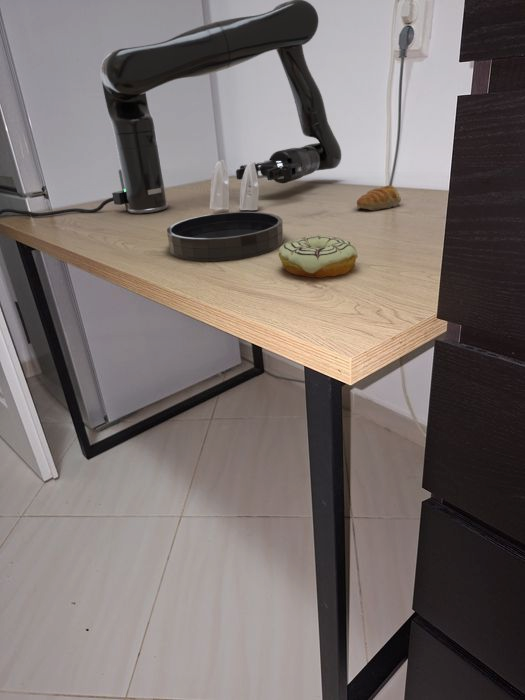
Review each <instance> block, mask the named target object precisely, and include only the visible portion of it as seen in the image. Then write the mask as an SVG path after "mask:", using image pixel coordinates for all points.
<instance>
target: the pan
mask: <svg viewBox="0 0 525 700" xmlns="http://www.w3.org/2000/svg"><path fill="white" fill-rule="evenodd" d="M283 223H284V222H283V218H282V217H281V216H279V215H276V214H274V213H268V212H264V211H263V212H261V211H230V212H229V211H228V212H226V213H218V214H214V213H212V214H210V213H209V214H205V215H198V216H194V217H189V218H186V219H183V220H181V221H178V222H176V223H173V224H171V225H170V226H169V227H168V228H167V229H166V233H167V234H166V235H167V240H168V246H169V252H170V254H171V255H172V256H173V257H175V258H178V259H181V260H186V261H194V262H227V261H234V260H235V261H236V260H242V259H248V258H253V257H256V256H261V255H263V254H267V253H270V252H272V251H274V250H276V249H278V248H280V247H281V246H282V245H283V244H284V225H283Z"/></svg>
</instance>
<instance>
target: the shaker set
mask: <svg viewBox="0 0 525 700" xmlns="http://www.w3.org/2000/svg"><path fill="white" fill-rule="evenodd" d="M254 163H255V162H250V163H247V164H246V165H247V166H246V169H245V171H244V175H243V178H242V179H241V182H240V186H239V187H240V188H239V207H238V210H239V211H257V210H259V195H260V194H259V193H260V191H259V190H260V183H259V178H257V173H256V169H255V165H254ZM209 195H210V197H209V201H210V202H209V210H210V211H211V212H212V214H218V213H228V212H229V210H230V207H231V206H230V178H229V173H228V169H227V165H226V162H225V160H224V159H220V160H218V161H216V164H215V165H214V169H213V173H212V176H211V180H210V193H209Z"/></svg>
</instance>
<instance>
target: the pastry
mask: <svg viewBox="0 0 525 700" xmlns="http://www.w3.org/2000/svg"><path fill="white" fill-rule="evenodd" d="M401 201H402V197H401V196H400V193H399V192H398V190H397V188H396V187H395V186H393V185H386V186H381V187H377V188H373V189H370V190H368V191H367V192H366V193H365V194H363V195H361V196H360V197H359V198H358V199H357V201H356V208H357V209H365V210H369V211H377V210H383V209H390V208H392V207H393V208H395V207H398V206H399V204H400V203H401Z"/></svg>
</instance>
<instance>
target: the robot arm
mask: <svg viewBox="0 0 525 700" xmlns="http://www.w3.org/2000/svg"><path fill="white" fill-rule="evenodd" d="M318 28H319V15H318V11H317V9H316V8H315V6H314V5H312V3H311V2H309V1H307V0H288V1H285V2H283V3H280V4H278V5H276V6H275V7H274V8H273V9H272V10H270V11H269V10H268V11H267V12H264V13H259V14H256V15H249V16H240V17H233V18H228V19H222V20H219V21H214V22H211V23H207V24H203V25H200V26H197V27H195V28H191V29H188V30H186V31H184V32H182V33H180V34H178V35H175V36H173V37H172V38H169V39H167V40H165V41H160V42H157V43H151V44H146V45H140V46H132V47H122V48H117V49H115V50H114V51H112V52H110V53H109V54H108V55H106V56H105V57H104V59H103V60H102V63H101V65H100V80H101V85H102V90H103V96H104V100H105V105H106V109H107V115H108V118H109V121H110V123H111V127H112V131H113V135H114V141H115V146H116V153H117V156H118V162H119V167H120V168H119V169H118V176H119V182H120V188H121V190H119V191H114V192H112V193H111V195H112V197H110V198H107V199H106V200H103V201H102V202H101V203H100V204H99V205H98V207H95V208H92V209H87V208H79V207H77V208H75V207H74V208H67V209H65V208H64V209H57V210H52V211H47V212H32V211H29V210H19V209H14V208H3V209H0V216H1V215H2V214H4V213H12V214H13V213H14V214H19V215H29V216H32V217H48V216H55V215H61V214H67V213H85V214H94V213H98V212H100V211H101V210H102V209H103V208H104V207H105V205H108V204H109V203H111V202H113V204H114V205H120V206H122V205H124V208H125V212H128V213H130V214H151V213H156V212H161V211H164V210H166V209H168V207H169V205H168V201H167V195H166V190H165V189H166V188H165V183H164V182H165V181H164V176H163V171H162V162H161V158H160V151H159V145H158V139H157V132H156V125H155V120H154V117H153V115H152V113H151V110H150V107H149V104H148V103H149V102H148V98H147V93H148V92H150V91H151V90H154V89H156V88H158V87H161V86H163V85H165V84H167V83H170V82H173V81H177V80H182V79H189V78H196V77H197V78H198V77H201V76H206V75H207V76H208V75H211V74H215V73H217V72H221V71H224V70H228V69H229V68H232V67H235V66H238V65H240V64H243V63H245V62H247V61H250V60H252V59H254V58H256V57H258V56H261V55H264V54H265V53H269V52H272V51H275V50H276V53H277V55H278V58H279V61H280V62H281V66H282V68H283V70H284V73H285V76H286V77H287V78H286V79H287V81H288V85H289V88H290V91H291V93H292V97H293V100H294V104H295V107H296V111H297V117H298V120H299V125H300V128H301V131H302V134H303V135H304V137H306V138H307V137H309V138H314V139H316V140H317V141H318V142H315V143H310V144H305V145H303V146H300V147H291V148H290V147H289V148H286V149H281V150H277V151H275V152H273V153H272V154H271V155H270V157H269V159H268V160H267V159H266V160H264V161H262V162H261V161H260V162H253V163H254V165H255V169H256V173H257V178H258V179H267V181H274V182H276V183H278V184H287V183H291V182H293V181H296V180H299V179H302V178H303V177H306V176H308V175H311V174H313V173H315V172H318V171H325V170H333V169H336V168H337V167H338V166H339V165H340V164H341V161H342V149H341V146H340V143H339V141H338V140H337V138H336V136H335V134H334V132H333V130H332V128H331V126H330V124H329V121H328V117H327V116H328V115H327V111H326V107H325V102H324V99H323V96H322V93H321V91H320V88H319V87H318V84H317V83H316V81H315V79H314V77H313V75H312V73H311V71H310V69H309V66H308V64H307V60H306V58H305V54H304V47H303V46H304V45H307V44H308V43H309V42H310V41H311V40H312V39H313V37H315V35H316V33H317V30H318ZM247 165H248V164H244V165H242V164H241V165H240V166H239V168H237V169H236V171H235V175H236V177H235V178H236V180H238V181H239V180H241V181H242V178H243V175H244V171H245V169H246V166H247ZM259 172H260V175H259ZM13 302H14V305H15V307H16V311H17V314H18V317H19V319H20V322H21V325H22V329H23V333H24V335H25V337H26V341H27V345H30V344H32V341H31V338H30V335H29V331H28V329H27V325H26V321H25V319H24V316H23V313H22V310H21V307H20V304H19V302H18V301H13Z"/></svg>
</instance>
